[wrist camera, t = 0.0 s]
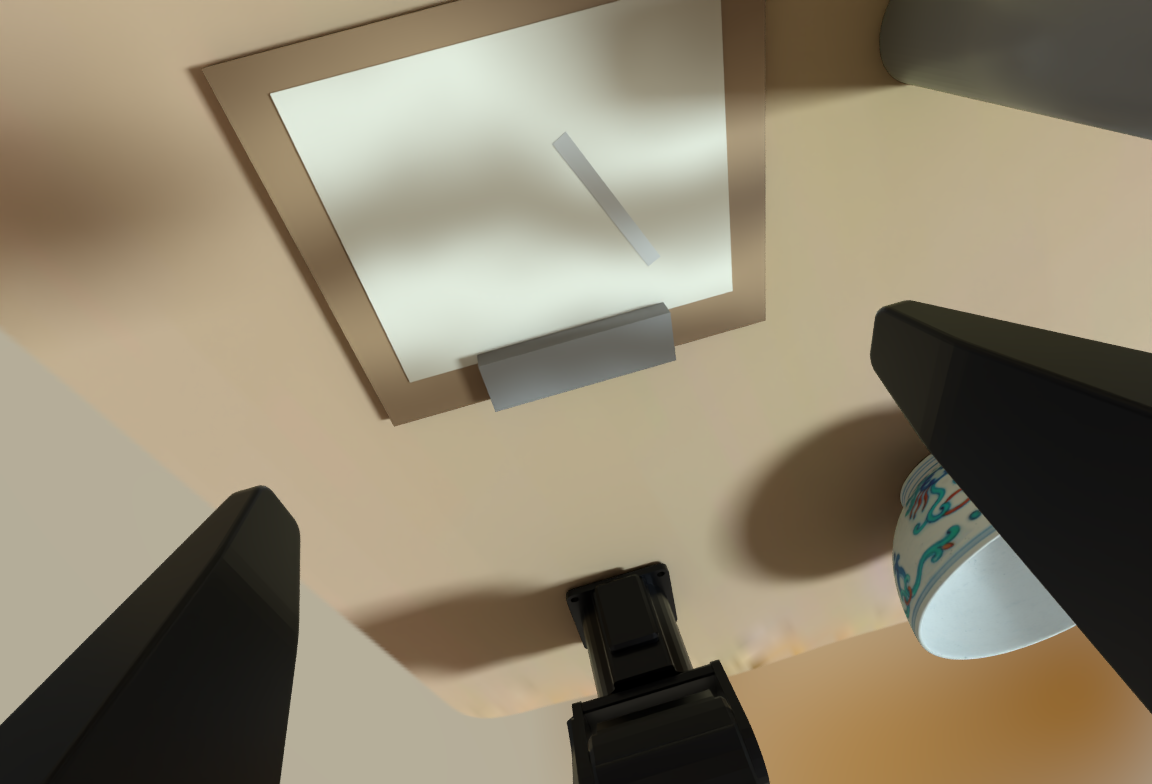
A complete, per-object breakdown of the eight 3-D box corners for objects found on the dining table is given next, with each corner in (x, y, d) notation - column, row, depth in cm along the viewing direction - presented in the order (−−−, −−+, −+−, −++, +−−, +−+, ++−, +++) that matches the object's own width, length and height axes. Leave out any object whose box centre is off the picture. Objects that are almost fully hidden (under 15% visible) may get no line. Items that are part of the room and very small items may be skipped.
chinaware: (861, 583, 42) (935, 688, 35) (812, 464, 33) (897, 577, 27) (1065, 486, 39) (1181, 580, 33) (1070, 330, 30) (1231, 419, 24)
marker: (977, 70, 21) (1480, 159, 11) (870, 100, 21) (1279, 217, 11) (1005, -72, 19) (1696, -129, 8) (884, -39, 19) (1436, -57, 8)
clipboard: (759, 313, 26) (775, 331, 25) (395, 418, 25) (392, 441, 24) (756, -79, 17) (781, -84, 16) (207, 66, 17) (189, 73, 16)
